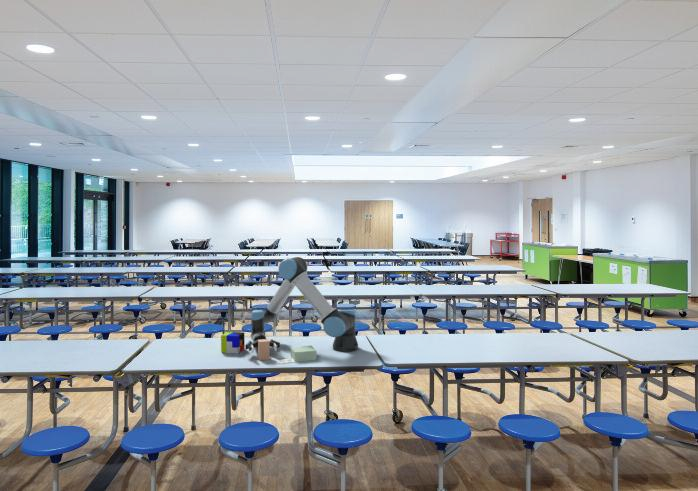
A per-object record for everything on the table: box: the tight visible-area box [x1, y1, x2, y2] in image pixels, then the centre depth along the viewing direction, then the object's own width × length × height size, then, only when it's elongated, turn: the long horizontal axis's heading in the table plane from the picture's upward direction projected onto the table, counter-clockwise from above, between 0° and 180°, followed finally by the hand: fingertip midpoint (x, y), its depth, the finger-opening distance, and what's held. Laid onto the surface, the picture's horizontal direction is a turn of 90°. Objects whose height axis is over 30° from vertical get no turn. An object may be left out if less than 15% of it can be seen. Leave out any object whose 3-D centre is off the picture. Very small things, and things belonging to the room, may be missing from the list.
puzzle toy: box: [220, 331, 246, 354], centre depth 299 cm, size 10×10×10 cm
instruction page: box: [275, 357, 299, 365], centre depth 277 cm, size 10×7×1 cm
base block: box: [290, 345, 317, 362], centre depth 283 cm, size 12×12×5 cm
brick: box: [257, 338, 271, 361], centre depth 282 cm, size 6×6×10 cm
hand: (264, 349), depth 279 cm, fingers open, 12 cm apart
